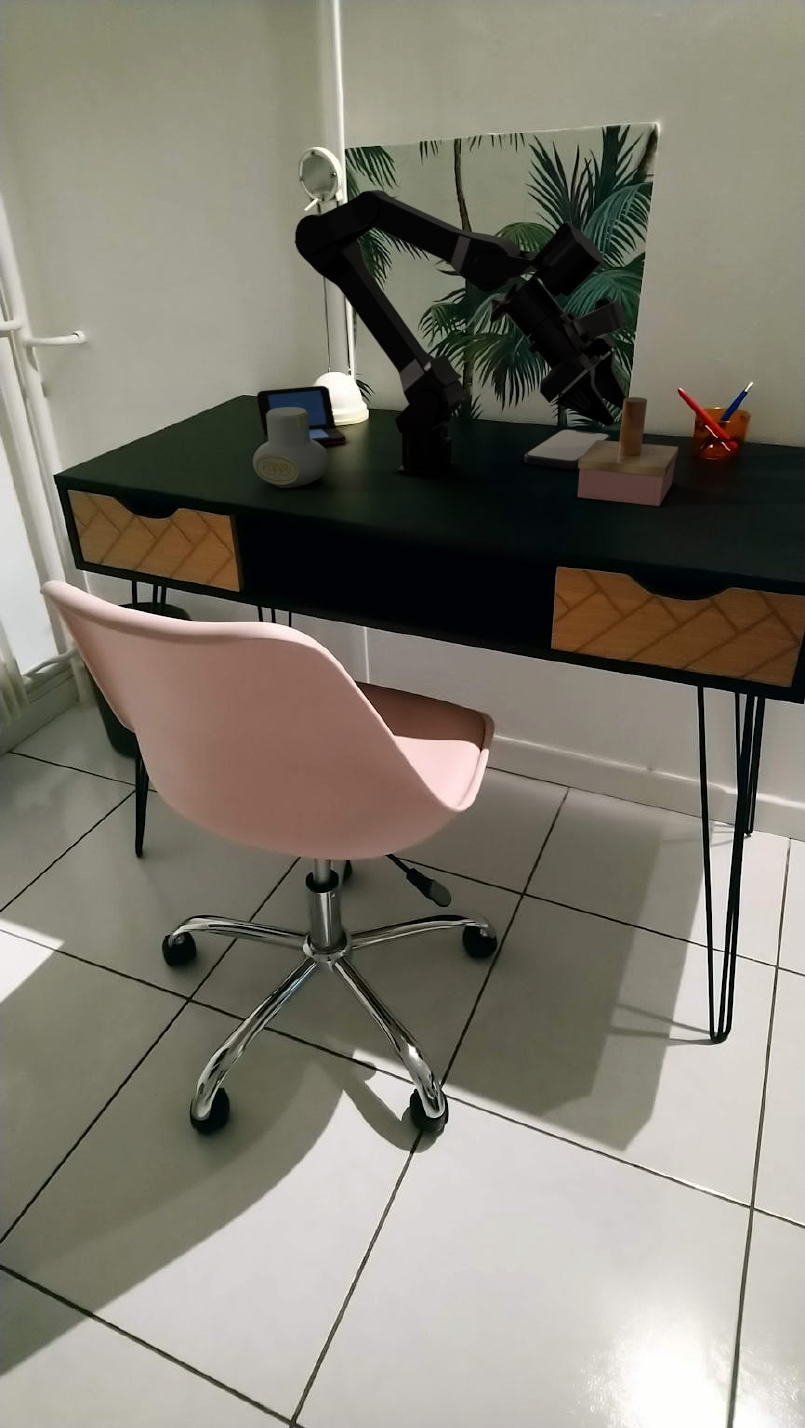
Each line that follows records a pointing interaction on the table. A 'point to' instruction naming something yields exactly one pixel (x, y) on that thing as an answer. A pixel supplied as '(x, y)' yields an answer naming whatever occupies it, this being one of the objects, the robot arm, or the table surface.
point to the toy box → (624, 486)
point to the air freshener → (290, 450)
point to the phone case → (563, 449)
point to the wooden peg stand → (630, 447)
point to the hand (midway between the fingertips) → (619, 415)
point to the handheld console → (312, 402)
